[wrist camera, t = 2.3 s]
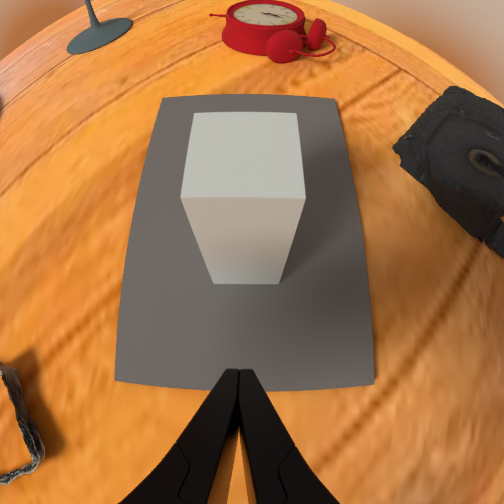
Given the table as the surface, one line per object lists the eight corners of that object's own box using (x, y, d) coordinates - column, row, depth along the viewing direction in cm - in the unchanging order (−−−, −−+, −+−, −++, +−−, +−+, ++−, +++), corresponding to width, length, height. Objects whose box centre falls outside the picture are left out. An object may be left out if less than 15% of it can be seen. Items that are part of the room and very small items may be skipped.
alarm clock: (257, -7, 31) (353, 5, 24) (263, 30, 36) (354, 51, 29) (196, 13, 28) (295, 22, 21) (207, 54, 33) (300, 78, 26)
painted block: (278, 284, 19) (305, 198, 10) (213, 283, 19) (180, 197, 10) (277, 225, 20) (296, 113, 11) (216, 225, 20) (194, 113, 11)
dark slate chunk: (529, 157, 26) (547, 137, 22) (500, 275, 20) (534, 256, 16) (446, 83, 30) (459, 58, 26) (377, 161, 24) (396, 124, 20)
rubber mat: (370, 383, 17) (374, 384, 17) (118, 380, 17) (114, 380, 17) (333, 103, 26) (334, 99, 25) (163, 102, 26) (162, 98, 25)
